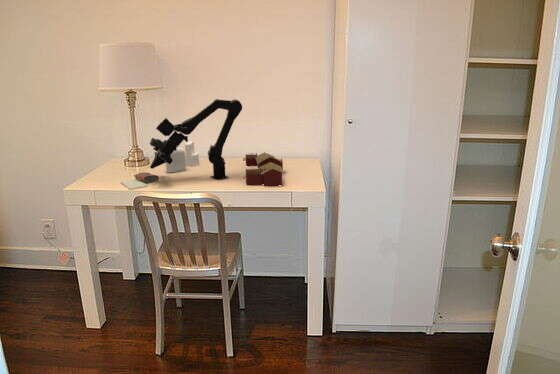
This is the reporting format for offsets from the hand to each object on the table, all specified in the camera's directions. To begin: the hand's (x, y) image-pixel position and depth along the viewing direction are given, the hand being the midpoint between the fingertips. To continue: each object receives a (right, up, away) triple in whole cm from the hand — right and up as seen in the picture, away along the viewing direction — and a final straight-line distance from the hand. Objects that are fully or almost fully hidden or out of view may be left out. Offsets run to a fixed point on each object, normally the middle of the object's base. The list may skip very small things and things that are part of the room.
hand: (150, 168), depth 221 cm
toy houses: (+51, -2, +17) cm, 54 cm away
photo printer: (+7, -1, +22) cm, 23 cm away
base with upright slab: (+12, +3, +35) cm, 37 cm away
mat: (-8, -8, 0) cm, 11 cm away
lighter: (0, -5, +3) cm, 6 cm away
